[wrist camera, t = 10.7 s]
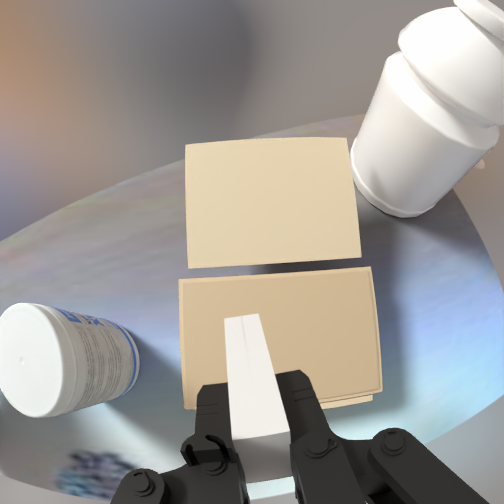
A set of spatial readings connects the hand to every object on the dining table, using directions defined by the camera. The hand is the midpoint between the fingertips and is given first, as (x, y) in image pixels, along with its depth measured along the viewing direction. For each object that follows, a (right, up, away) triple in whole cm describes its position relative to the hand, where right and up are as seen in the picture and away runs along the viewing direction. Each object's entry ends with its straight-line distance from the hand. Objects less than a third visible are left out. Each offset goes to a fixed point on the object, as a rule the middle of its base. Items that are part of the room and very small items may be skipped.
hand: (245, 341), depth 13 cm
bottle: (+20, +15, +24) cm, 34 cm away
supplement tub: (-17, -9, +17) cm, 26 cm away
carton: (+3, -5, +18) cm, 19 cm away
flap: (+2, +3, +14) cm, 15 cm away
